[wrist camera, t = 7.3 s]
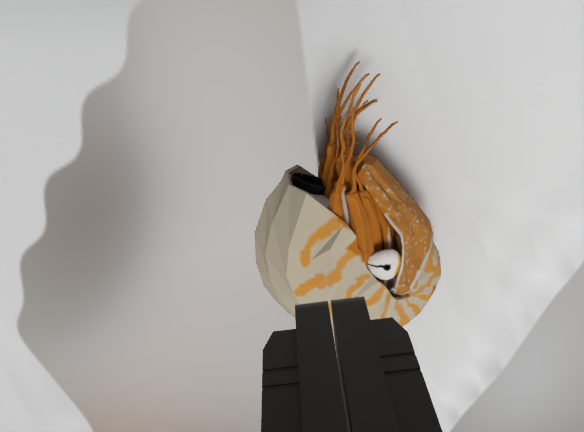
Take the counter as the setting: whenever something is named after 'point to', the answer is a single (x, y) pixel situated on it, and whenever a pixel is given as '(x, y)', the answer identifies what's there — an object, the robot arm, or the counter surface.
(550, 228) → the counter surface
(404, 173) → the counter surface
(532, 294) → the counter surface
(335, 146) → the nautilus
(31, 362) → the counter surface
